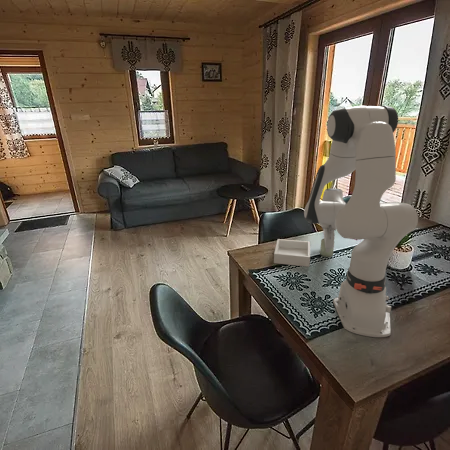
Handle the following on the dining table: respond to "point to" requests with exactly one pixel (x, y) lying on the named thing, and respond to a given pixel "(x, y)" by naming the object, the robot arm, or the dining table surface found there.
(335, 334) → the dining table surface
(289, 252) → the bin
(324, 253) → the pale green rounded block
